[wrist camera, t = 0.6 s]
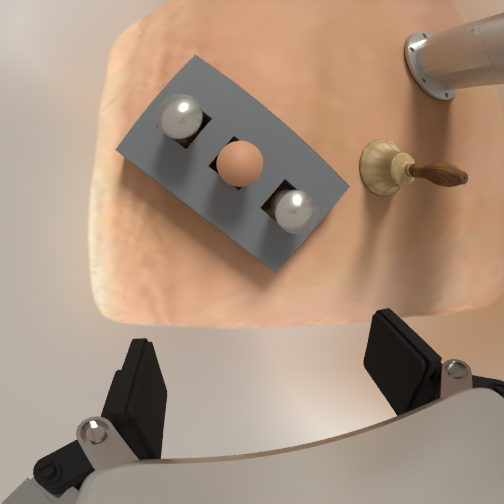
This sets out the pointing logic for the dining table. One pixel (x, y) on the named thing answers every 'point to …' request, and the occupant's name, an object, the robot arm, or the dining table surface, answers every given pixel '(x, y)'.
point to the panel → (209, 146)
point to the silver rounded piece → (295, 210)
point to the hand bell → (401, 169)
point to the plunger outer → (179, 116)
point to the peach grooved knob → (240, 163)
